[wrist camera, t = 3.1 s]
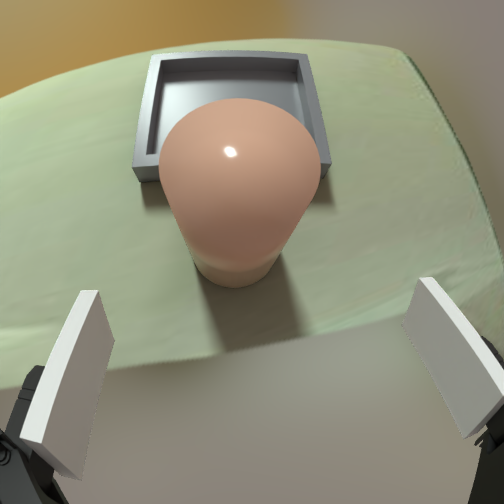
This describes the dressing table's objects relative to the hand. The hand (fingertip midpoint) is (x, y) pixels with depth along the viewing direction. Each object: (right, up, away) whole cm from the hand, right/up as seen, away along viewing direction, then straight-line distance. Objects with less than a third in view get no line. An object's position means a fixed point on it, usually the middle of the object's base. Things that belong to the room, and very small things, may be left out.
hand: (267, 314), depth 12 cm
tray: (-3, +15, +14) cm, 21 cm away
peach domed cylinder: (-2, +3, +11) cm, 12 cm away
